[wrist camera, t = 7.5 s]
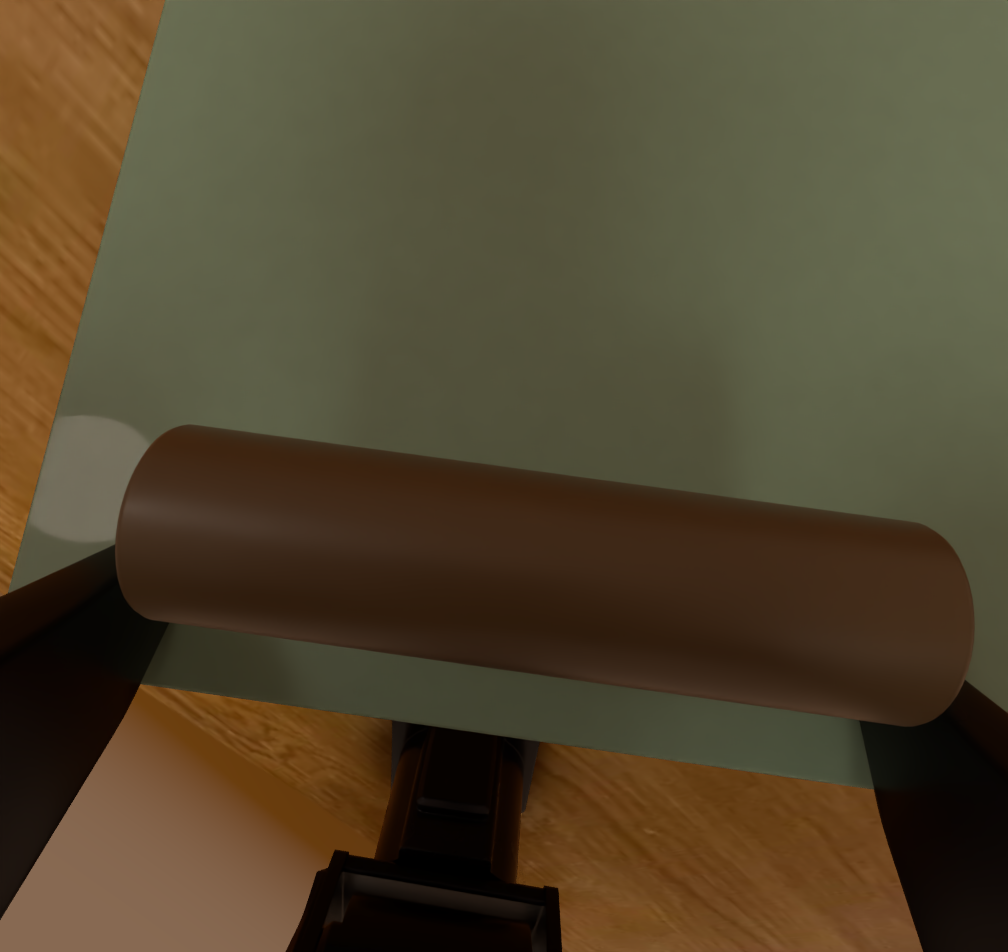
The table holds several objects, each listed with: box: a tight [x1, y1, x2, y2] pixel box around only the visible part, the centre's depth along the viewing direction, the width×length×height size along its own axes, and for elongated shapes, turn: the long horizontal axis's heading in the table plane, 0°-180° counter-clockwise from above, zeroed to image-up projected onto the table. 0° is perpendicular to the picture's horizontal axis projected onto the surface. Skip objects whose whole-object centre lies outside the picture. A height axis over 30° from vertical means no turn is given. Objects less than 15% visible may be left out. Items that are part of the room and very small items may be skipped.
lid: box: [8, 0, 1008, 789], centre depth 8 cm, size 12×13×5 cm
